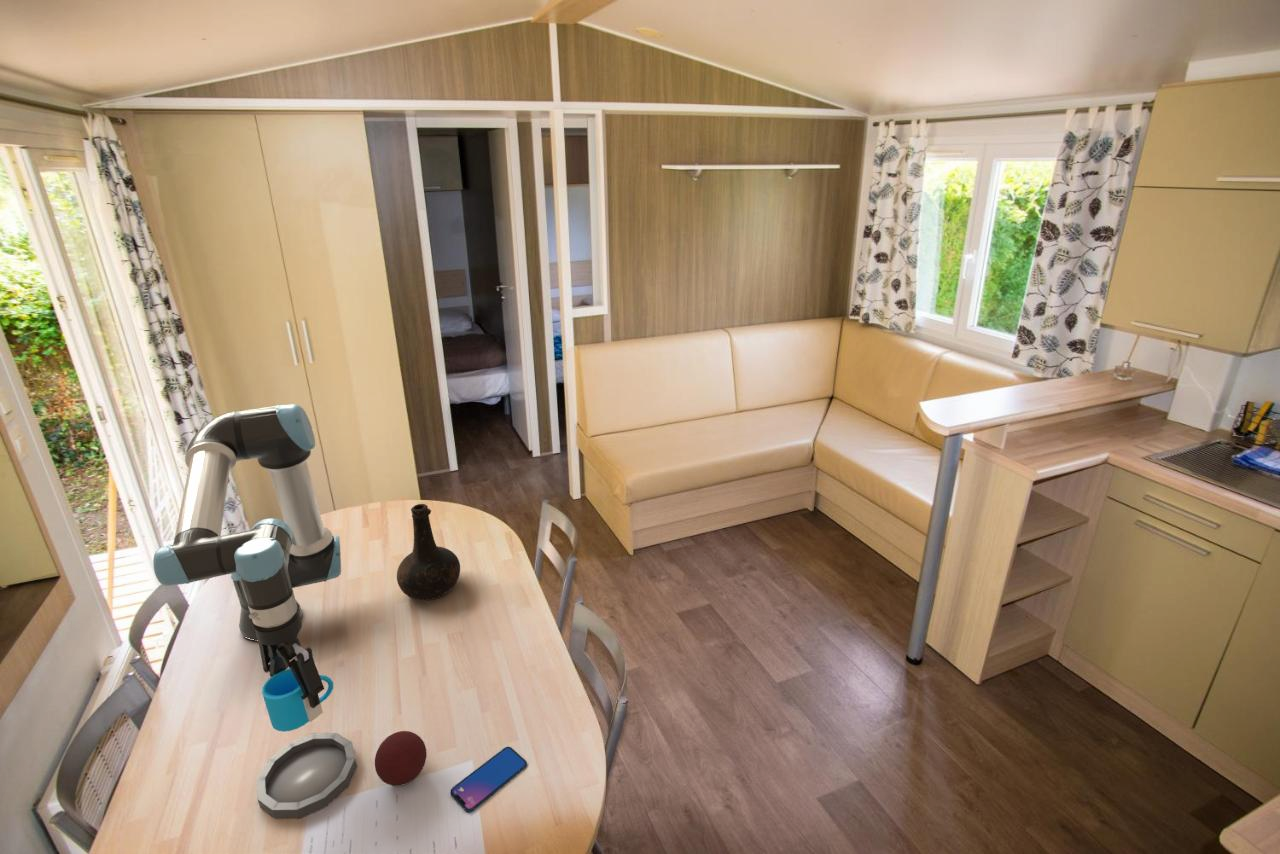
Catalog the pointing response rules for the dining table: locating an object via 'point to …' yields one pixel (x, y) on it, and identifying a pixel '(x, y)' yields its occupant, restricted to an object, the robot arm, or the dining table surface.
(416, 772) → the decorative ball
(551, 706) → the dining table surface
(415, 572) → the glass bottle
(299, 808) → the holder ring
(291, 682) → the mug
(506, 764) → the smartphone
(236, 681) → the dining table surface
